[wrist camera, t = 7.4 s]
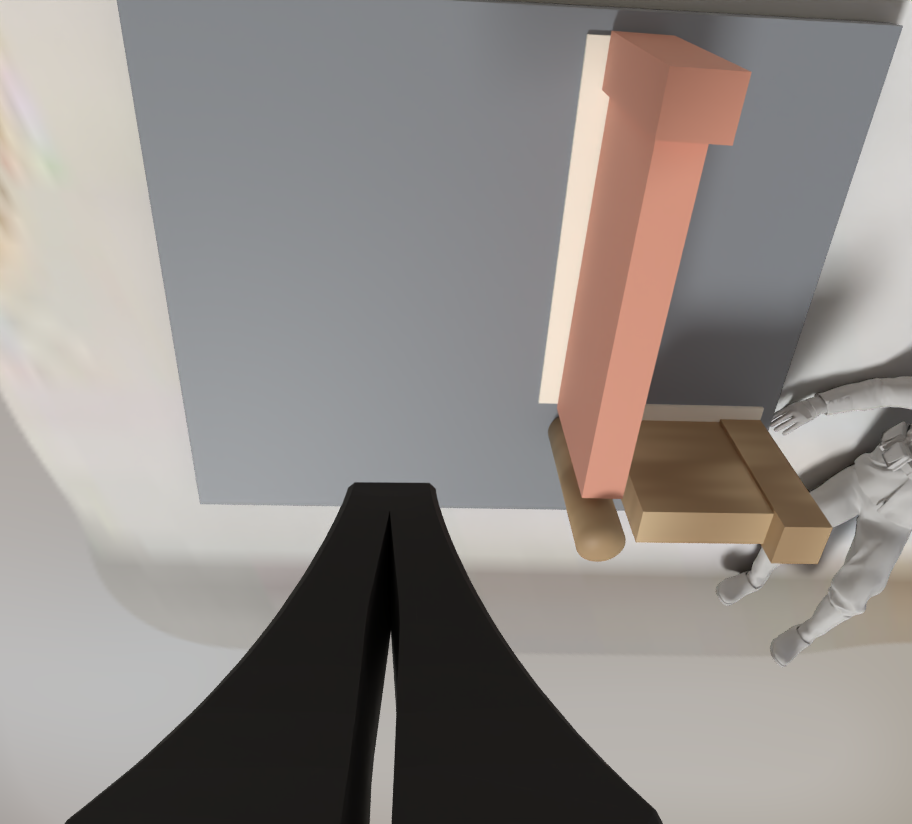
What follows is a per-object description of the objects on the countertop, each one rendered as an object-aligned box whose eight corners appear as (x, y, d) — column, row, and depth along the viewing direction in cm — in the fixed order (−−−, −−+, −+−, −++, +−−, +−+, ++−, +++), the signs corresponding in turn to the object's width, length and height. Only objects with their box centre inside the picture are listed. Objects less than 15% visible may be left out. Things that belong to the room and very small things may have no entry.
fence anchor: (759, 418, 23) (832, 527, 18) (748, 451, 23) (817, 563, 19) (550, 413, 22) (579, 523, 18) (545, 446, 23) (572, 561, 19)
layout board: (888, 23, 17) (905, 26, 17) (734, 500, 25) (742, 514, 24) (123, -21, 16) (112, -19, 16) (204, 491, 24) (199, 506, 23)
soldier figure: (648, 529, 27) (901, 286, 18) (720, 473, 30) (969, 240, 21) (817, 717, 25) (1206, 542, 16) (878, 636, 27) (1236, 450, 18)
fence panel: (598, 409, 22) (636, 515, 18) (550, 407, 22) (577, 513, 18) (674, 35, 17) (752, 72, 13) (611, 30, 17) (670, 66, 13)
